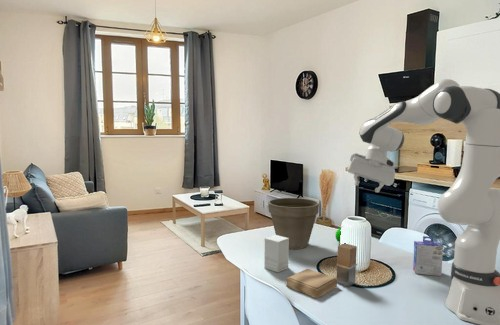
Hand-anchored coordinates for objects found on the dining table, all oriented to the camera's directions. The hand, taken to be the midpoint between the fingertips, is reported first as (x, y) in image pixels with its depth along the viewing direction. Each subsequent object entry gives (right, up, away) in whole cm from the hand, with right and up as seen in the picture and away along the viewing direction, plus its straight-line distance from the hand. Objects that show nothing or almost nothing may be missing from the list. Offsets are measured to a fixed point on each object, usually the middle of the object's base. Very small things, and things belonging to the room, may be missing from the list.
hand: (366, 188), depth 154 cm
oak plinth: (-29, -33, -27) cm, 52 cm away
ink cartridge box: (+20, -33, -12) cm, 41 cm away
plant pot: (-30, -30, +20) cm, 47 cm away
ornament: (-4, -30, +23) cm, 38 cm away
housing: (-16, -33, -23) cm, 44 cm away
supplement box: (-41, -32, -10) cm, 53 cm away
